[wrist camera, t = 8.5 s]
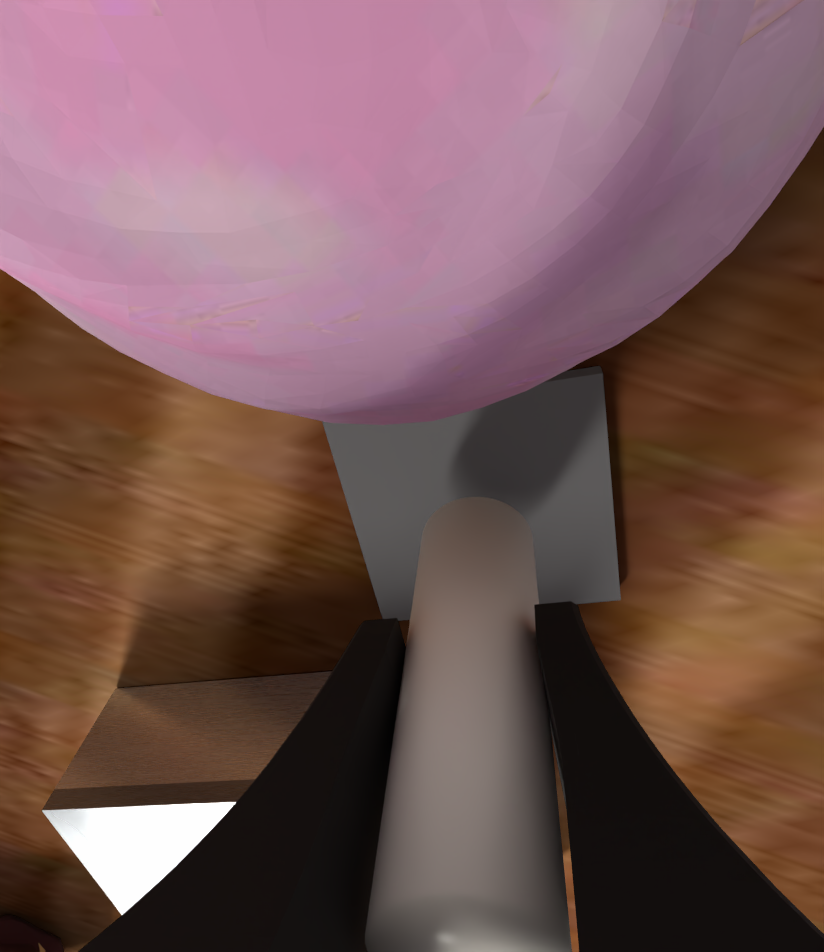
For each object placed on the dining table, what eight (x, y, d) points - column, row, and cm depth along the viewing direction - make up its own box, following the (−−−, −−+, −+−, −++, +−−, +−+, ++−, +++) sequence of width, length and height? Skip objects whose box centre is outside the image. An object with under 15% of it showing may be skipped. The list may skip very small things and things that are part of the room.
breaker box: (509, 657, 19) (513, 790, 15) (549, 867, 23) (559, 1004, 20) (115, 688, 21) (41, 810, 17) (226, 875, 26) (186, 998, 22)
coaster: (599, 365, 14) (602, 372, 14) (618, 589, 17) (620, 600, 17) (324, 409, 15) (320, 416, 15) (385, 611, 18) (383, 622, 18)
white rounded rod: (527, 491, 14) (565, 894, 7) (537, 582, 15) (577, 1003, 8) (412, 502, 14) (345, 893, 8) (430, 590, 16) (386, 998, 9)
